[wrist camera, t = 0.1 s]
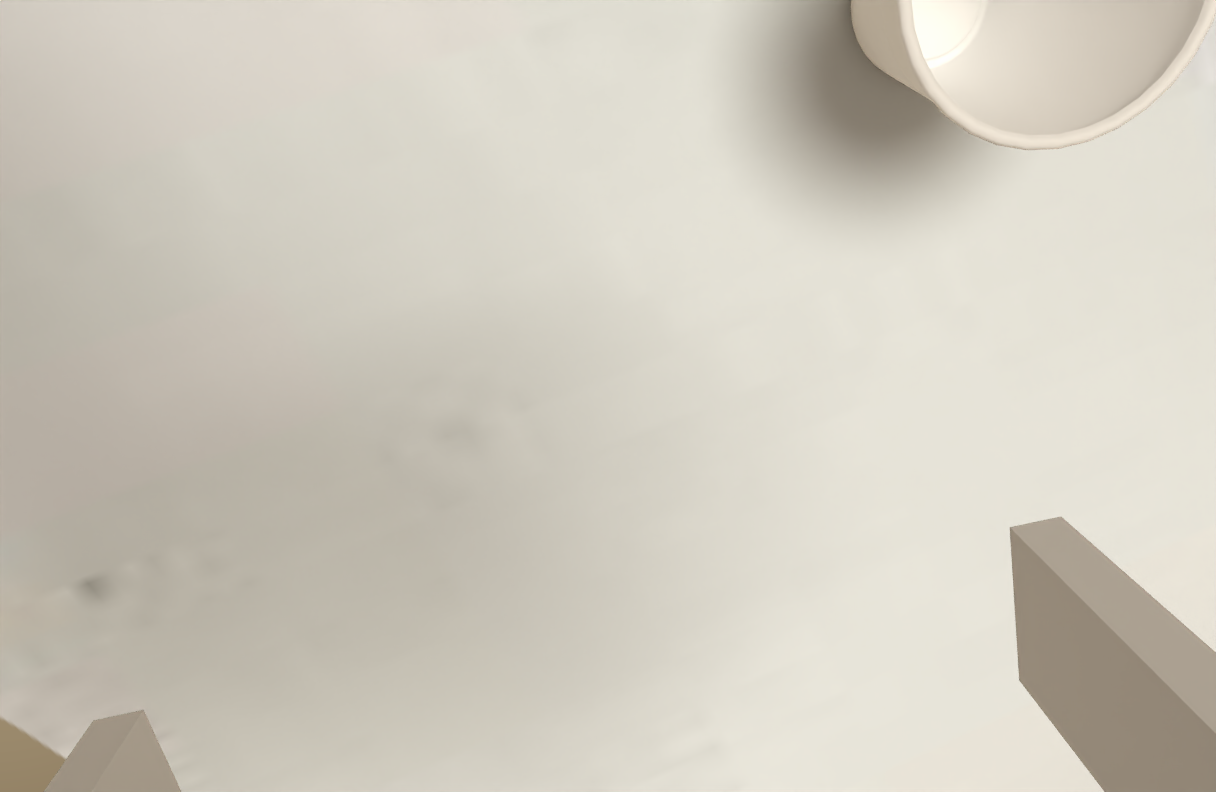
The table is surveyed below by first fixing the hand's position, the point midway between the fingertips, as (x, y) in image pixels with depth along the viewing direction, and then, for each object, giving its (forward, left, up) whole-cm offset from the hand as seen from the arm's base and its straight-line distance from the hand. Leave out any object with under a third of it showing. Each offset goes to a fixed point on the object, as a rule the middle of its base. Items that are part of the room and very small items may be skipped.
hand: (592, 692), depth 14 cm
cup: (-8, +17, -28) cm, 34 cm away
